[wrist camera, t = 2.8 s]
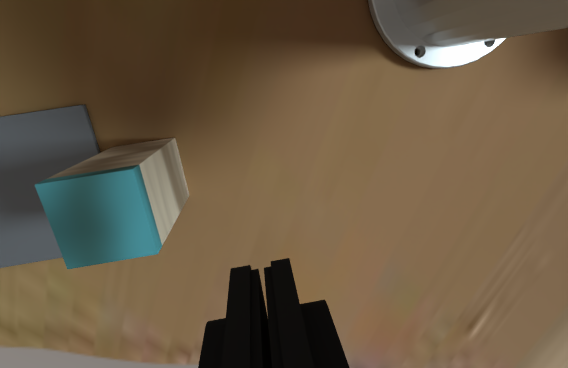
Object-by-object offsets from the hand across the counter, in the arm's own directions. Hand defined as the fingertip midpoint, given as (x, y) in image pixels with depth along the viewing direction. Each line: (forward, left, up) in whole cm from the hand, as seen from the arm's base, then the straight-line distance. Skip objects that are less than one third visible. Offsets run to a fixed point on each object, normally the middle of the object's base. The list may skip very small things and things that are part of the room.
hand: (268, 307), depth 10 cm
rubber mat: (+19, 0, -19) cm, 27 cm away
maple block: (+9, 0, -19) cm, 21 cm away
